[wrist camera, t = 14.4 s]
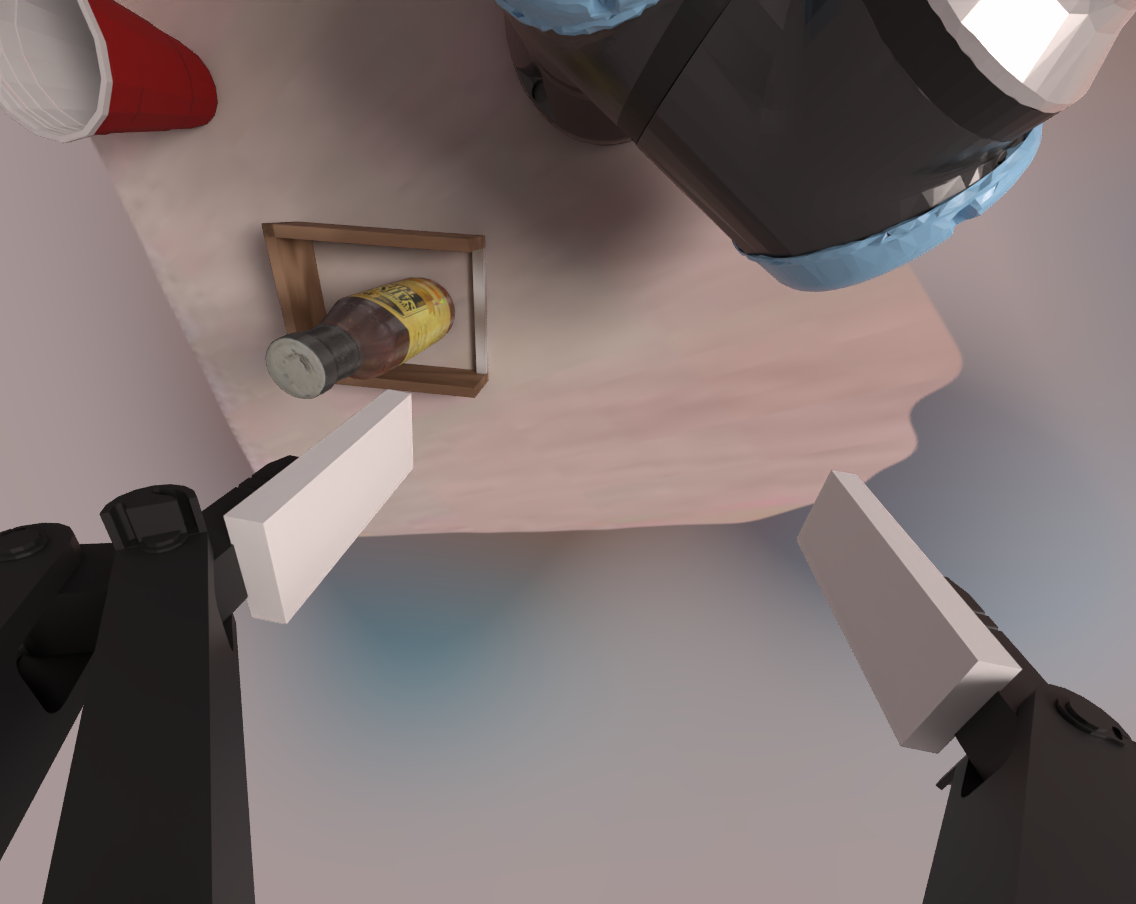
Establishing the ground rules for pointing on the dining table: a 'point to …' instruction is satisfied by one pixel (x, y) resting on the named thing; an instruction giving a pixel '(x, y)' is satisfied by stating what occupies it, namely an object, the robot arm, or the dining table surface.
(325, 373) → the sauce bottle
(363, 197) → the dining table surface
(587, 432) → the dining table surface
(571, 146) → the dining table surface
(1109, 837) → the robot arm
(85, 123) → the plastic cup
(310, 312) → the frame
